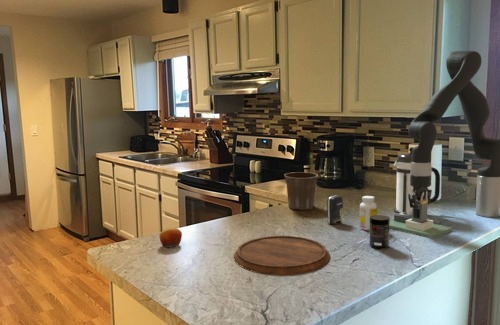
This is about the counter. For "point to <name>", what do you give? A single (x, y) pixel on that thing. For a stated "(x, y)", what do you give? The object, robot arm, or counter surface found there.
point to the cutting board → (282, 255)
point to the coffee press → (404, 182)
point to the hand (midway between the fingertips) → (419, 216)
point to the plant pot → (301, 189)
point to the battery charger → (334, 209)
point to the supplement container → (379, 231)
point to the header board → (417, 226)
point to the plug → (421, 212)
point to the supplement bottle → (367, 211)
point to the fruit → (170, 237)
